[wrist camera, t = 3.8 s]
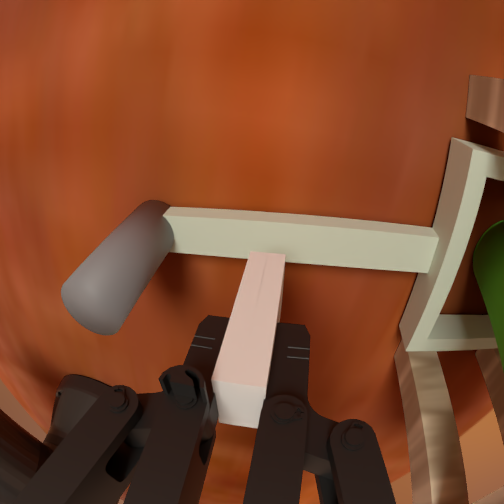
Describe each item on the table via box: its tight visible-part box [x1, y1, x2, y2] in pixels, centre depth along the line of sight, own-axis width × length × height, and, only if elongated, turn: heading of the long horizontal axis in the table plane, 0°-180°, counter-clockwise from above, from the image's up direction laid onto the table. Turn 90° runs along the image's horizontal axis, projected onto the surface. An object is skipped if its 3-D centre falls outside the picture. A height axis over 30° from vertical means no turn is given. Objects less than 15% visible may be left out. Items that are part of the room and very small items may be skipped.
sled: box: [61, 137, 504, 351], centre depth 14 cm, size 31×13×8 cm, turn 90°
